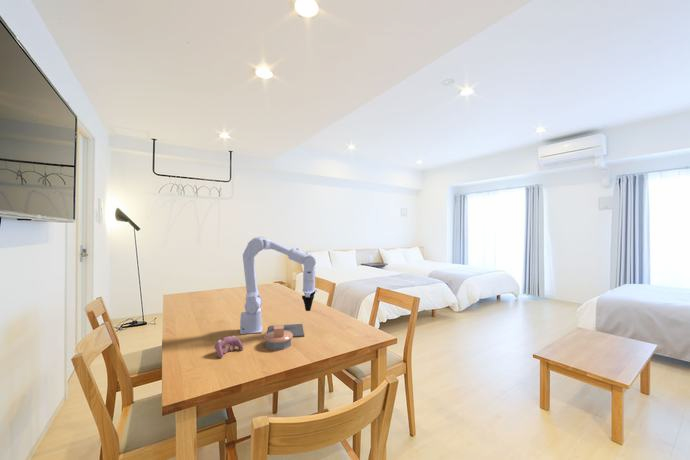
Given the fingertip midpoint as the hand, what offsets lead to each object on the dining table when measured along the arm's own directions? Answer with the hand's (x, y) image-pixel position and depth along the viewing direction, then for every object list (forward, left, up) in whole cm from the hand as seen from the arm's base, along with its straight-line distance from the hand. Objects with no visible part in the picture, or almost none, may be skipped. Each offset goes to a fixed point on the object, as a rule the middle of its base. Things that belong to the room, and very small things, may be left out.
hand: (308, 308), depth 137 cm
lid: (-14, -16, -7) cm, 22 cm away
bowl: (-14, -16, -10) cm, 23 cm away
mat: (-11, -2, -10) cm, 15 cm away
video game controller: (-33, -20, -10) cm, 39 cm away
